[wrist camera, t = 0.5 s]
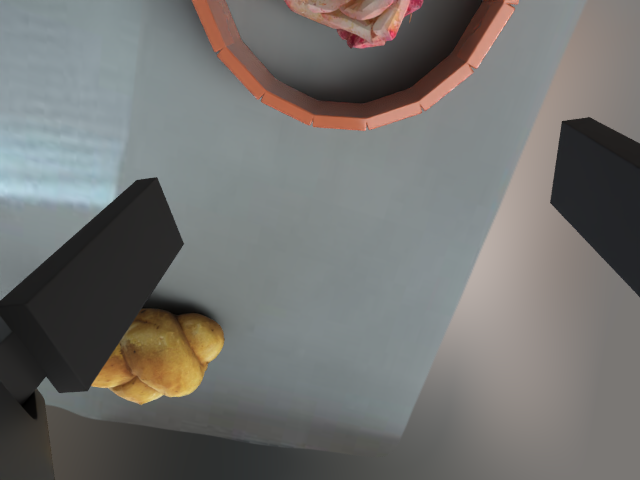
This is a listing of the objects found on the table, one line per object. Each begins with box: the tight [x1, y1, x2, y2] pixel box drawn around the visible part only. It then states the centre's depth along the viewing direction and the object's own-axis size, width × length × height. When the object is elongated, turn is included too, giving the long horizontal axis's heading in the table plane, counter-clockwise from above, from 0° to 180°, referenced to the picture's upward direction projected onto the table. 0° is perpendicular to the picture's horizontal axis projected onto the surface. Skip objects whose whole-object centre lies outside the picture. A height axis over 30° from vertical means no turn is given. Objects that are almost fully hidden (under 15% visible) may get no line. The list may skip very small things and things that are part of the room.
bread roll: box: [91, 308, 224, 405], centre depth 38 cm, size 13×10×8 cm
